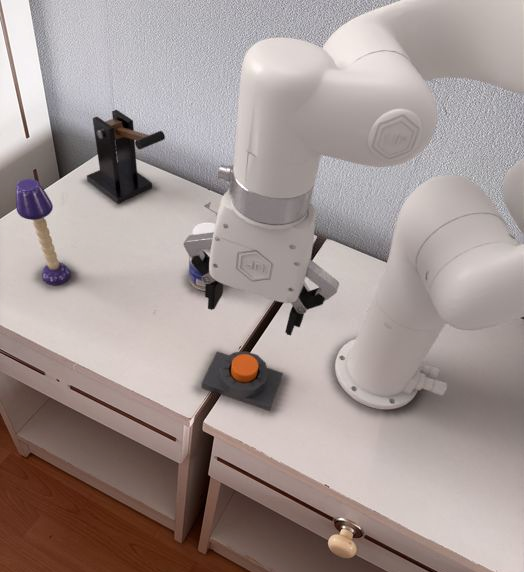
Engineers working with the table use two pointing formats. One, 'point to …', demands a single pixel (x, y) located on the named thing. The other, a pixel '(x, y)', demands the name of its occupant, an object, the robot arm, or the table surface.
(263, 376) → the button box
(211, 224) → the pill bottle
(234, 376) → the button
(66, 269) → the toy lamp
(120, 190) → the bracket
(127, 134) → the lever
